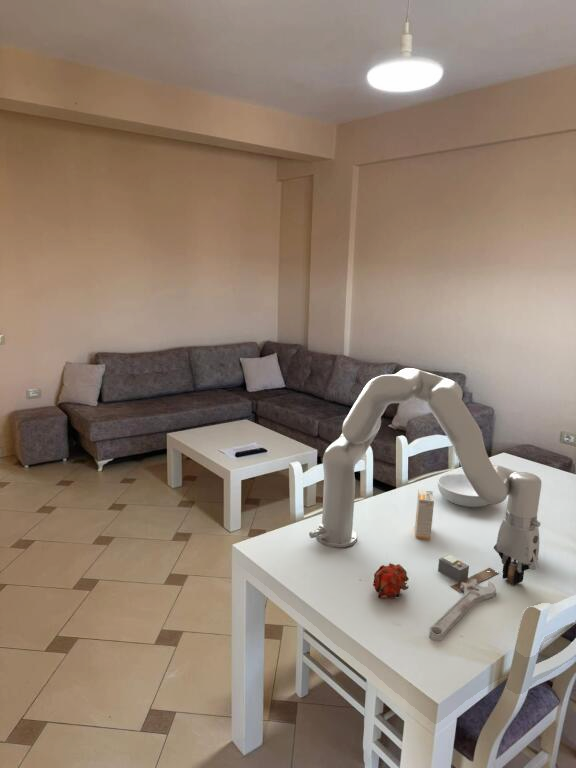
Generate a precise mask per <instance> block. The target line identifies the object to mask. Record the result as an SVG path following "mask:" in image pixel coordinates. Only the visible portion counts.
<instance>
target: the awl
mask: <svg viewBox="0 0 576 768" xmlns="http://www.w3.org/2000/svg"><path fill="white" fill-rule="evenodd" d="M517 563H518V561H517V560H515V559H513V561H512V560H511V563H509V566H508V574H507V578H506V582H507V584H509V583H510V585H512V584H513V579H514V572H515V571H516V570H517ZM513 585H514V586H516V585H515V584H513Z"/></svg>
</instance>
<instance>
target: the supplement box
mask: <svg viewBox="0 0 576 768" xmlns="http://www.w3.org/2000/svg"><path fill="white" fill-rule="evenodd" d="M417 491H418V492H417V502H416V510H415V511H416V512H415V522H414V532H415V538H416V539H424V540H430V539H431V535H432V525H433V515H434V506H435V499H434V498H435V497H434V491H433V490H426V489H418V490H417Z"/></svg>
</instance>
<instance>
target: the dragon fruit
mask: <svg viewBox="0 0 576 768" xmlns="http://www.w3.org/2000/svg"><path fill="white" fill-rule="evenodd" d="M408 581H409V577H408V572H407V570H405V568H404V567H403V566H402V565H401V564H399V563H398V564H393V563H391V562H390V563H388V565H385V564H383V565H380V566H379V568H378V569H377V570H376V571H375V573H374V575H373V582H372V586H373V587H374V590H375V591H376V593H378V598H381V599H389V598H390V596H392V595H393V597H394V598H400V597H401V596H403V594H402V593H401V590H403V591H406V590H407V591H408V590H409V585H407V584H408V583H407V582H408Z"/></svg>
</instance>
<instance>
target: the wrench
mask: <svg viewBox="0 0 576 768" xmlns="http://www.w3.org/2000/svg"><path fill="white" fill-rule="evenodd" d="M460 588H461V589H462V590H463V591H462V592H463V595H462V596H461V597H460V598H459V599H458V600H457V601H456V602H455V603H454V604H453V605H452V606H451V607H450V608H449V609H448V610H447V611H446V612H445V613H444V614H443V615H442V616H441V617H440V618H439V619H438V620H436V622H435V623H434V624H433V625H432V626H431V627H429V633H428V637H429V638H430V639H432V640H433V641H438V642H439V641H441V640H442V639H443V638H445V636H446V635H447V634H448V633H449V632H450V631H451V630H452V628H453V627H454V626H455V625H457V623H458V622H459V620H461V618H463V616H465V614H466V613H467V612H468V611H469V610H470V609H471V607H472V606H473V605H475V604H477V603H480V602H482V601H485V600H488V598H489V599H492V598H491V597H493V598H494V597H495V596H494V595H496V594H497V593H496V591H497V588H496V585H495V583H493V582H492V581H488V584H487V586H480V585H479V586H478V585H477V580H476V579H473V580H470V581H467V582H466V583H463V582H461V586H460ZM484 599H485V600H484Z"/></svg>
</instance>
